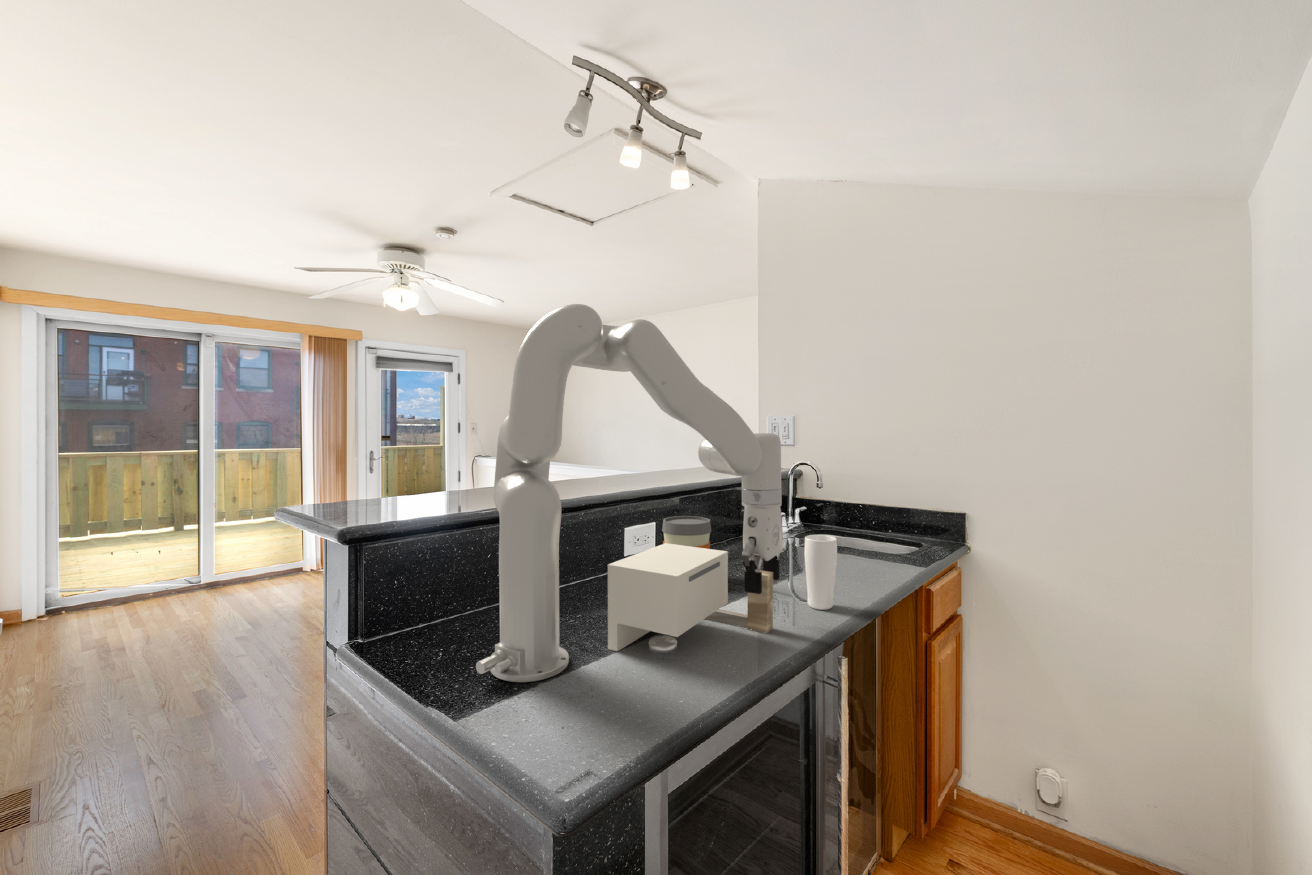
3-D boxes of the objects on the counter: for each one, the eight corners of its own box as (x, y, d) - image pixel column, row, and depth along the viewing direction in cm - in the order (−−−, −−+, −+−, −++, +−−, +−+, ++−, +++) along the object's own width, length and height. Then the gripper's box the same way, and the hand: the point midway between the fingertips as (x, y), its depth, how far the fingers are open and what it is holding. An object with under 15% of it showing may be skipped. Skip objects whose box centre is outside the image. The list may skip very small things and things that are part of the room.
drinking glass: (808, 599, 124) (809, 533, 124) (839, 604, 121) (840, 536, 120) (800, 608, 118) (800, 538, 118) (832, 614, 115) (833, 542, 114)
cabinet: (678, 667, 90) (678, 576, 89) (607, 648, 97) (607, 564, 97) (728, 628, 107) (728, 551, 106) (665, 614, 114) (665, 543, 114)
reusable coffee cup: (697, 588, 132) (697, 526, 132) (652, 580, 139) (652, 521, 139) (719, 575, 143) (719, 518, 143) (677, 569, 150) (677, 514, 149)
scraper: (767, 633, 104) (767, 575, 104) (683, 615, 114) (683, 563, 113) (772, 628, 107) (773, 572, 107) (690, 611, 116) (690, 559, 116)
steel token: (668, 657, 94) (668, 649, 94) (643, 651, 97) (643, 642, 97) (681, 647, 99) (682, 639, 98) (658, 641, 101) (658, 633, 101)
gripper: (764, 505, 97) (765, 601, 97) (794, 492, 111) (795, 576, 112) (724, 502, 100) (726, 595, 101) (759, 490, 115) (760, 571, 116)
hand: (762, 585), depth 107 cm, fingers open, 9 cm apart
